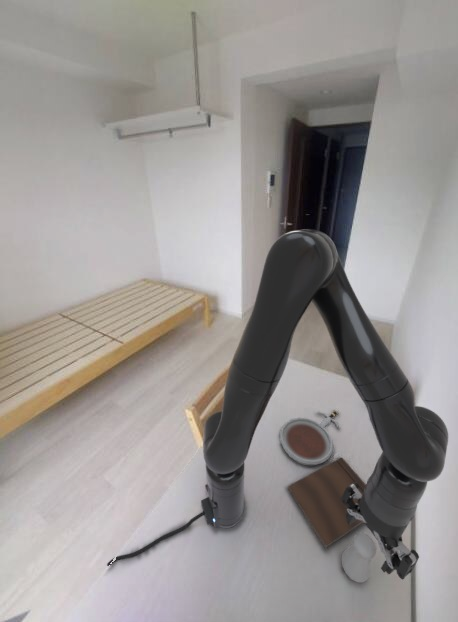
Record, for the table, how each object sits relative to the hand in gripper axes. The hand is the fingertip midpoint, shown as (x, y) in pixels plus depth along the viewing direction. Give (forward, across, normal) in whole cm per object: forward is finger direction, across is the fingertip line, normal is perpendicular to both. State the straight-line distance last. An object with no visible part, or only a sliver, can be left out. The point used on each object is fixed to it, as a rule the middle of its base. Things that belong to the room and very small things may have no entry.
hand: (367, 543), depth 55 cm
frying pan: (+13, -32, +16) cm, 38 cm away
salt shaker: (+13, 0, 0) cm, 13 cm away
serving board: (+13, -13, +7) cm, 20 cm away
